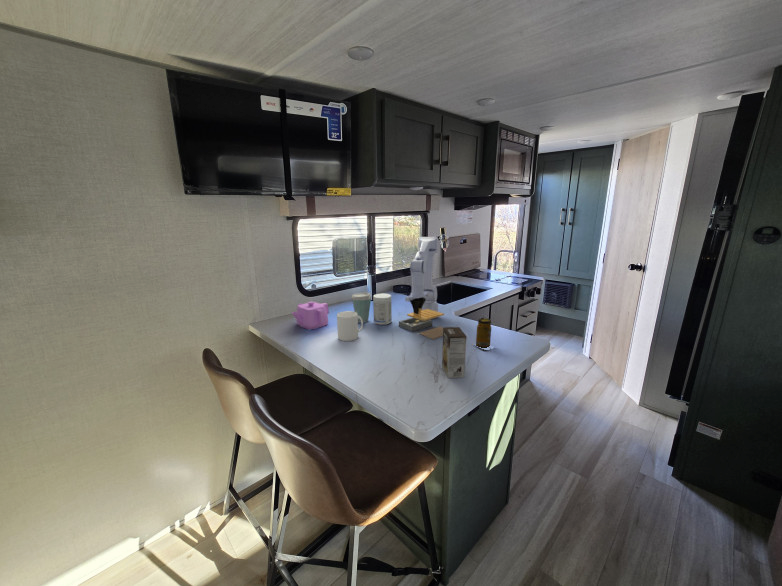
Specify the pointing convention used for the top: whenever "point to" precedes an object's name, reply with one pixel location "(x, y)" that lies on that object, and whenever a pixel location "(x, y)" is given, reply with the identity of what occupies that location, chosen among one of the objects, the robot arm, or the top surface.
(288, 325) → the top surface
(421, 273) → the robot arm
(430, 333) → the mat
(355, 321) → the mug
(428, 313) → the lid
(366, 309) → the disposable coffee cup
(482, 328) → the condiment
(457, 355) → the coffee box
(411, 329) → the parts tub
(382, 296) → the supplement tub
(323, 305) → the teakettle
